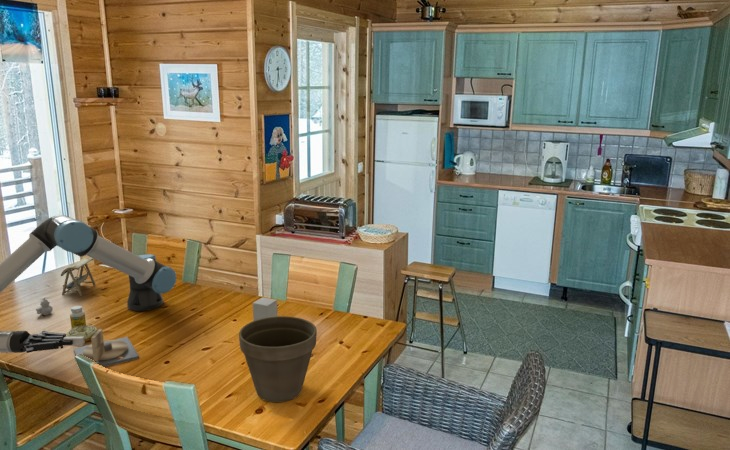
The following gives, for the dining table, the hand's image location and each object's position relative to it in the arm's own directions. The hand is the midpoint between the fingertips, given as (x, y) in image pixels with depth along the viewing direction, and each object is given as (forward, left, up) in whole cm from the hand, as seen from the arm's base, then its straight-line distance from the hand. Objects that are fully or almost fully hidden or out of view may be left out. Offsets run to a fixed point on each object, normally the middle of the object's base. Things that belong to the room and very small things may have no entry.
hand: (83, 340), depth 200 cm
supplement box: (-66, +7, -9) cm, 67 cm away
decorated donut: (-2, -24, -9) cm, 26 cm away
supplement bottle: (-2, -33, -9) cm, 34 cm away
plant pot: (-50, +53, -9) cm, 74 cm away
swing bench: (-9, -81, -9) cm, 82 cm away
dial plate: (-7, -4, -9) cm, 12 cm away
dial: (-7, -3, -8) cm, 11 cm away
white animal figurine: (+8, -57, -9) cm, 58 cm away
